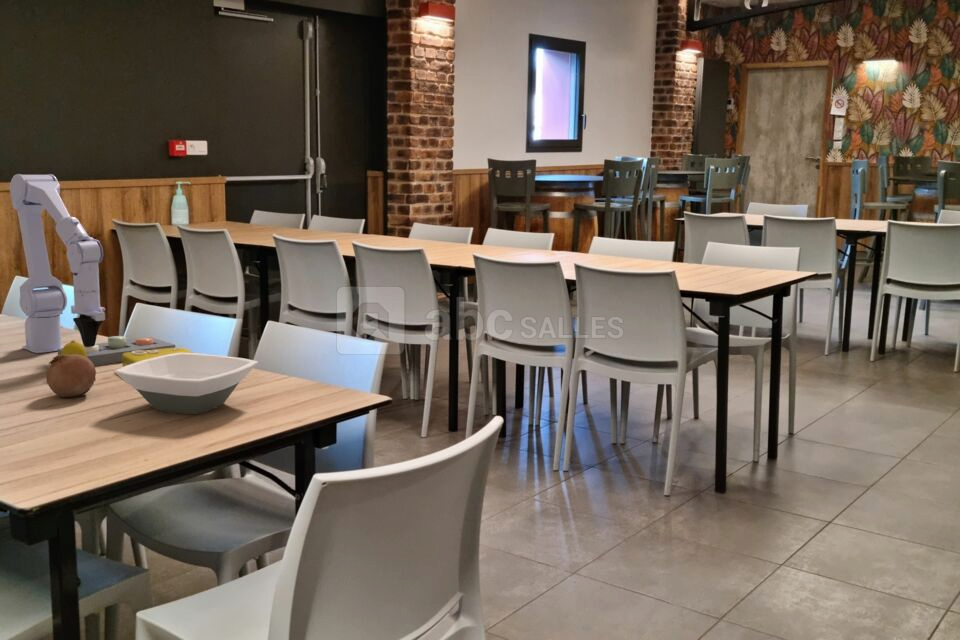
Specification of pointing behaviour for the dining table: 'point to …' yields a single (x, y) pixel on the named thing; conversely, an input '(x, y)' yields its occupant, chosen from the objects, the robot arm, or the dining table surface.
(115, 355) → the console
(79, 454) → the dining table surface
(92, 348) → the button ivory
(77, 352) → the lemon
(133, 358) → the element tile
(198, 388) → the bowl
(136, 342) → the button terracotta
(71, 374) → the onion
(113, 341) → the button sage
